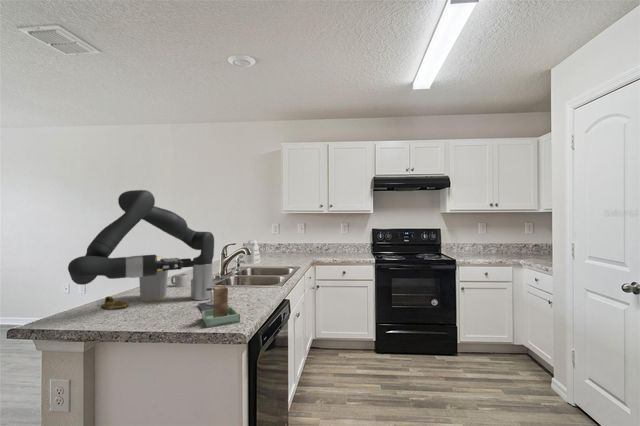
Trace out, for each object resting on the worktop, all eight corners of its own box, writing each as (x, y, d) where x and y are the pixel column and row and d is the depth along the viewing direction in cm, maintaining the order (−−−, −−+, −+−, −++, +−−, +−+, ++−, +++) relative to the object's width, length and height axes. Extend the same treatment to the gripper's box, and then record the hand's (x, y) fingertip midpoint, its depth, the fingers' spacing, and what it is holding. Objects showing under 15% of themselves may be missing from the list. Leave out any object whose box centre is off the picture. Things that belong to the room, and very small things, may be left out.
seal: (135, 309, 145) (114, 304, 152) (136, 298, 146) (115, 294, 152) (114, 312, 137) (93, 307, 143) (116, 300, 137) (95, 297, 144)
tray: (207, 327, 116) (207, 319, 116) (201, 318, 126) (201, 311, 126) (240, 322, 122) (240, 314, 122) (232, 314, 132) (232, 306, 132)
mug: (189, 285, 191) (189, 274, 191) (182, 287, 184) (182, 276, 184) (175, 284, 193) (175, 273, 193) (167, 286, 186) (167, 275, 187)
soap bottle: (170, 298, 158) (170, 256, 158) (140, 302, 150) (140, 258, 151) (165, 293, 168) (166, 253, 169) (137, 297, 161) (137, 255, 161)
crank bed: (204, 314, 131) (204, 295, 131) (198, 305, 145) (198, 288, 145) (231, 310, 137) (231, 292, 137) (222, 302, 151) (222, 285, 151)
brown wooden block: (215, 320, 121) (215, 289, 121) (213, 317, 125) (213, 287, 125) (227, 319, 123) (227, 288, 123) (225, 315, 127) (225, 285, 127)
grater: (254, 263, 279) (254, 241, 279) (244, 263, 283) (244, 240, 283) (260, 262, 289) (260, 240, 289) (250, 261, 293) (250, 240, 293)
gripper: (141, 257, 105) (195, 254, 113) (141, 253, 117) (189, 250, 125) (141, 280, 105) (195, 275, 113) (141, 273, 117) (189, 269, 125)
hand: (192, 262), depth 119 cm, fingers open, 6 cm apart
